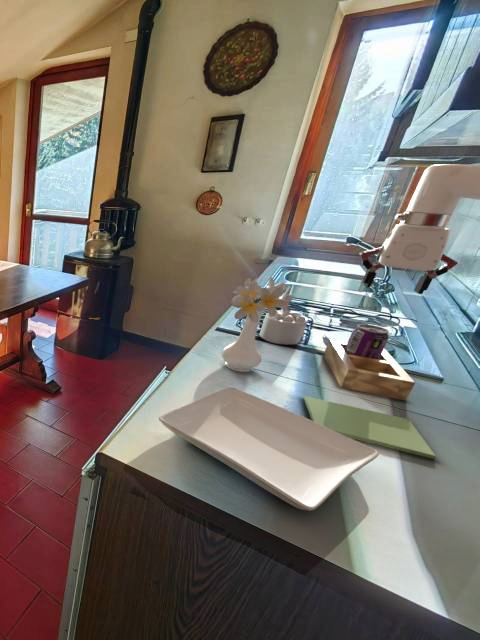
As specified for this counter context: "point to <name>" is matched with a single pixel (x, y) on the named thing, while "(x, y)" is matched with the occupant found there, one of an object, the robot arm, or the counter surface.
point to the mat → (368, 426)
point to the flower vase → (253, 320)
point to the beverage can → (367, 341)
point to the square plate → (270, 445)
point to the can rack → (368, 372)
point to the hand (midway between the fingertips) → (391, 289)
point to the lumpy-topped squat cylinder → (284, 327)
